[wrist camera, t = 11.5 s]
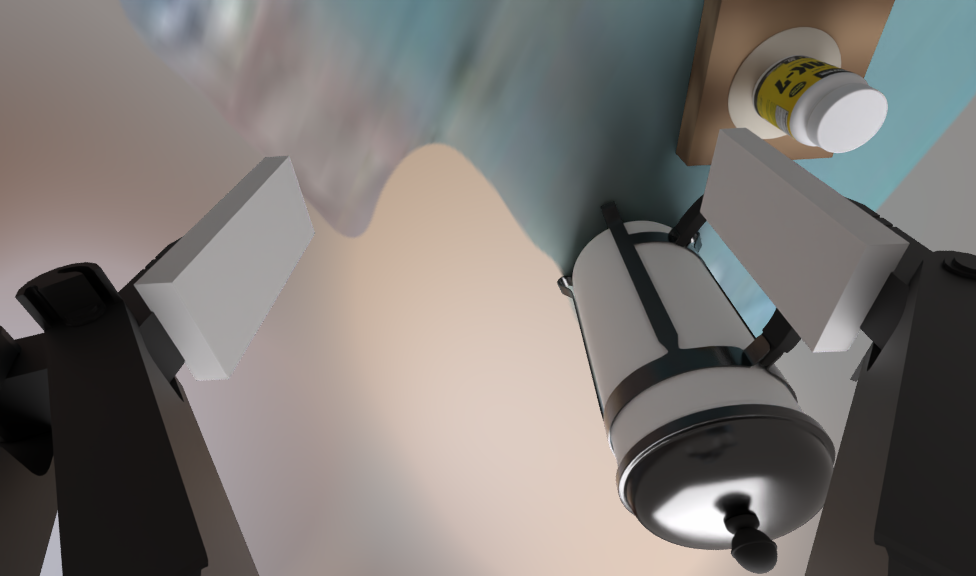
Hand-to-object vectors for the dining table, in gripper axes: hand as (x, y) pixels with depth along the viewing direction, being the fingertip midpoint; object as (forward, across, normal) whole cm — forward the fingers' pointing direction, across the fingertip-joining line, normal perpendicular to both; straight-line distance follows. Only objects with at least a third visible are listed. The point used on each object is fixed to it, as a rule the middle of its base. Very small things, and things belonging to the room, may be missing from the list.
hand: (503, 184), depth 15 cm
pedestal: (+27, +22, -4) cm, 35 cm away
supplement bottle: (+24, +22, -4) cm, 33 cm away
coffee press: (+27, +13, -20) cm, 36 cm away
